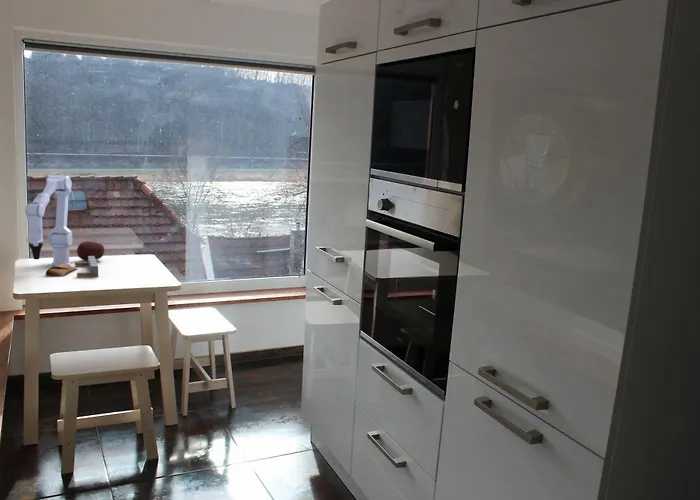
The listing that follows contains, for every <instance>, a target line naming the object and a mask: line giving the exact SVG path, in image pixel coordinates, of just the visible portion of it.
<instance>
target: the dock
mask: <svg viewBox="0 0 700 500" xmlns="http://www.w3.org/2000/svg"><path fill="white" fill-rule="evenodd" d="M86 267H87V268H88V270H89V271H84V272H83V271H82V272H81V271H80V272H76V278H77V279H78V278H79V279H81V278H84V279H85V278H99V265H98V261H97V260H96V259H95V256H88V261H81V262H78V261H77V262H76V261H75V262H74V268H86Z"/></svg>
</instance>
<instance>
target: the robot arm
mask: <svg viewBox="0 0 700 500" xmlns="http://www.w3.org/2000/svg"><path fill="white" fill-rule="evenodd" d="M45 180H46V181H45V183H46V185H45V188H44V189H43V191H42V192H39V193H38V194H37V196H36V197H35V198H34V199H33V201H32V202H31V203H28V204H27V205H26V206H25V211H24V213H25V215H26V219H27V223H28V225H27V226H28V239H26V240H25V241H26V242H29V244H28V246H29V249H30V250H31V252H32V253H31V254H32V257H33V260H40V256H41V252H42V251H41V250H42V247H43V245H44V244H43V242H44V238H43V237H44V236H43V231H44V230H43V217H44V216H45V212H46V207H47V206H48V204H49V203H50V201H51V200H50V199H51V196H52V195H53V193H55V194H56V195H57V196H56V197H57V199H56V210H55V212H56V214H55V226H54V227H53V228H51V230H50V231H49V236H48V244H49V245H50V246H51V248H52V254H53V261H52V267H54V266H56V265H59V264H61V263H62V262H64V263H65V264H67V265H69V266H71V261H70V247H71V246H72V244H73V241H74V240H73V239H74V238H73V231H71V230H70V229H69V228H68V227H67V226H68V211H69V198H70V197H69V195H70V194H71V193H72V186H73V185H72V184H73V182H72V179H71V177H70V176H68V175H66V176H64V175H52V174H49V175H48V176H47V177H46V179H45Z"/></svg>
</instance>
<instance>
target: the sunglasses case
mask: <svg viewBox="0 0 700 500" xmlns="http://www.w3.org/2000/svg"><path fill="white" fill-rule="evenodd" d="M77 270H79V269H78V267H75V266H71V265H67V264H65V263H64V262H62V263H61V264H59V265H56V266H52V267H49V268H47V270H46V271H45V276H46V277H56V278H57V277H58V278H60V277H61V278H63V277H66V276H68V275H70V274H71V273H73V272H75V271H77Z"/></svg>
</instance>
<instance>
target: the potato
mask: <svg viewBox="0 0 700 500" xmlns="http://www.w3.org/2000/svg"><path fill="white" fill-rule="evenodd" d="M104 254H105V246H104V245H103V243H102V244H101V243H99V242H96V241H88V240H87V241H83V242H80V244H79V245H77V249H76V255H77V256H78V258H79V259H81V260H82V261H84V262H88V256H95V259H96V261H97V260H99V259H102V257H103V256H104Z"/></svg>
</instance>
